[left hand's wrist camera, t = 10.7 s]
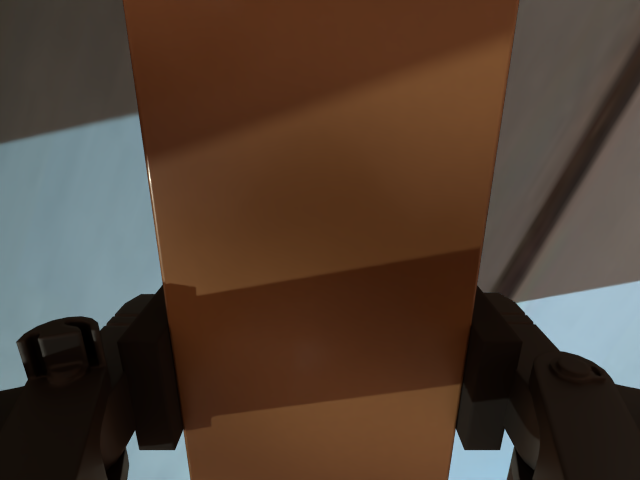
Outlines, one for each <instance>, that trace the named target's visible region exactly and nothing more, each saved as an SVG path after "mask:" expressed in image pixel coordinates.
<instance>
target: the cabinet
mask: <svg viewBox="0 0 640 480" xmlns="http://www.w3.org/2000/svg"><path fill="white" fill-rule="evenodd" d="M123 6H124V13H125V20H126V27H127V34H128V41H129V48H130V55H131V62H132V69H133V76H134V83H135V90H136V98H137V105H138V112H139V119H140V126H141V133H142V140H143V147H144V154H145V161H146V168H147V175H148V182H149V190H150V197H151V204H152V211H153V218H154V225H155V232H156V239H157V246H158V253H159V260H160V267H161V274H162V281H163V289H164V296H165V303H166V310H167V317H168V324H169V331H170V338H171V345H172V352H173V359H174V366H175V373H176V381H177V388H178V395H179V402H180V409H181V416H182V423H183V430H184V437H185V444H186V451H187V458H188V465H189V472H190V480H448V477H449V470H450V463H451V457H452V450H453V443H454V436H455V430H456V423H457V416H458V410H459V403H460V396H461V389H462V383H463V376H464V369H465V362H466V356H467V349H468V342H469V336H470V329H471V322H472V315H473V309H474V302H475V295H476V289H477V282H478V275H479V268H480V262H481V255H482V248H483V241H484V235H485V228H486V221H487V215H488V208H489V201H490V194H491V188H492V181H493V174H494V168H495V161H496V154H497V147H498V141H499V134H500V127H501V121H502V114H503V107H504V100H505V94H506V87H507V80H508V73H509V67H510V60H511V53H512V47H513V40H514V33H515V26H516V20H517V13H518V6H519V0H123Z"/></svg>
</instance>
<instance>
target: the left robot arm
mask: <svg viewBox="0 0 640 480" xmlns="http://www.w3.org/2000/svg"><path fill="white" fill-rule="evenodd" d="M16 343H17V346H18V349H19V352H20V356H21V359H22V362H23V365H24V368H25V371H26V375H27V378H28V381H27V382H26V384H25V386H22V387H18V388H13V389H8V390H3V391H0V480H127V477H128V470H129V461H128V454H127V450H126V446H127V444H128V442H129V440H130V439H131V437H132V435H133V433H134V431H136V436H137V441H138V445H139V450H175V449H176V446H177V444H178V441H179V439H180V436H181V434H182V431H183V423H182V416H181V409H180V402H179V395H178V388H177V381H176V373H175V366H174V359H173V352H172V345H171V338H170V331H169V324H168V317H167V310H166V303H165V296H164V289H163V285H162V286H161V288H160V289H159V290H158V291H157V293H156V294H140V295H139V296H137V297H135V298H134V299H132V300H130V301H128V302H127V303H125V304H124V305H123V306H122V307H121V308H120V310H119V311H118V312H117V313H116V314H115V317H112V318H111V319H110V320H109V322H108V323H107V325H106V326H104V327H103V328H102V329H101V330H99V326H98V322H96V321H95V320H94V319H92V318H87V317H82V316H79V317H66V318H62V319H57V320H53V321H50V322H47V323H45V324H42V325H39V326H37V327H35V328H33V329H32V330H30V331H28V332H27V333H25V334H24V335H23V336H22V337H21V338H20V339H19V340H18V341H17V342H16ZM504 429H505V430H506V432H507V433H508V435H509V437H510V439H511V441H512V443H513V444H514V450H513V454H512V459H511V463H510V468H509V472H508V477H507V480H640V389H636V388H631V387H626V386H621V385H617V384H614V382H613V380H612V378H611V377H610V376H609V375H608V374H607V372H606V371H605V370H604V369H602V368H601V367H599V366H598V365H597V364H595V363H594V362H592V361H590V360H587V359H585V358H583V357H581V356H579V355H575V354H571V353H567V352H561V351H559V350H558V348H557V347H556V346H555V345H554V344H553V343H552V342H551V341H550V340H549V339H548V338H547V336H546V335H545V334H544V333H543V332H542V331H541V330H540V329H539V328H538V327H537V326H536V325H535V324H533V321H532V320H531V319H530V318H529V317H528V316H527V315H525V313H524V312H523V310H522V309H521V308H520V307H519V306H518V305H517V304H516V303H515V302H514V301H512V300H510V299H509V298H507V297H505V296H503V295H502V294H500V293H483V292H482V291H481V289H480V288H479V287H478V286H477V289H476V295H475V302H474V309H473V315H472V322H471V329H470V336H469V342H468V349H467V356H466V362H465V369H464V376H463V383H462V389H461V396H460V403H459V410H458V416H457V423H456V430H457V432H458V435H459V437H460V440H461V442H462V445H463V447H464V450H500V448H501V443H502V438H503V434H504Z"/></svg>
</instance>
